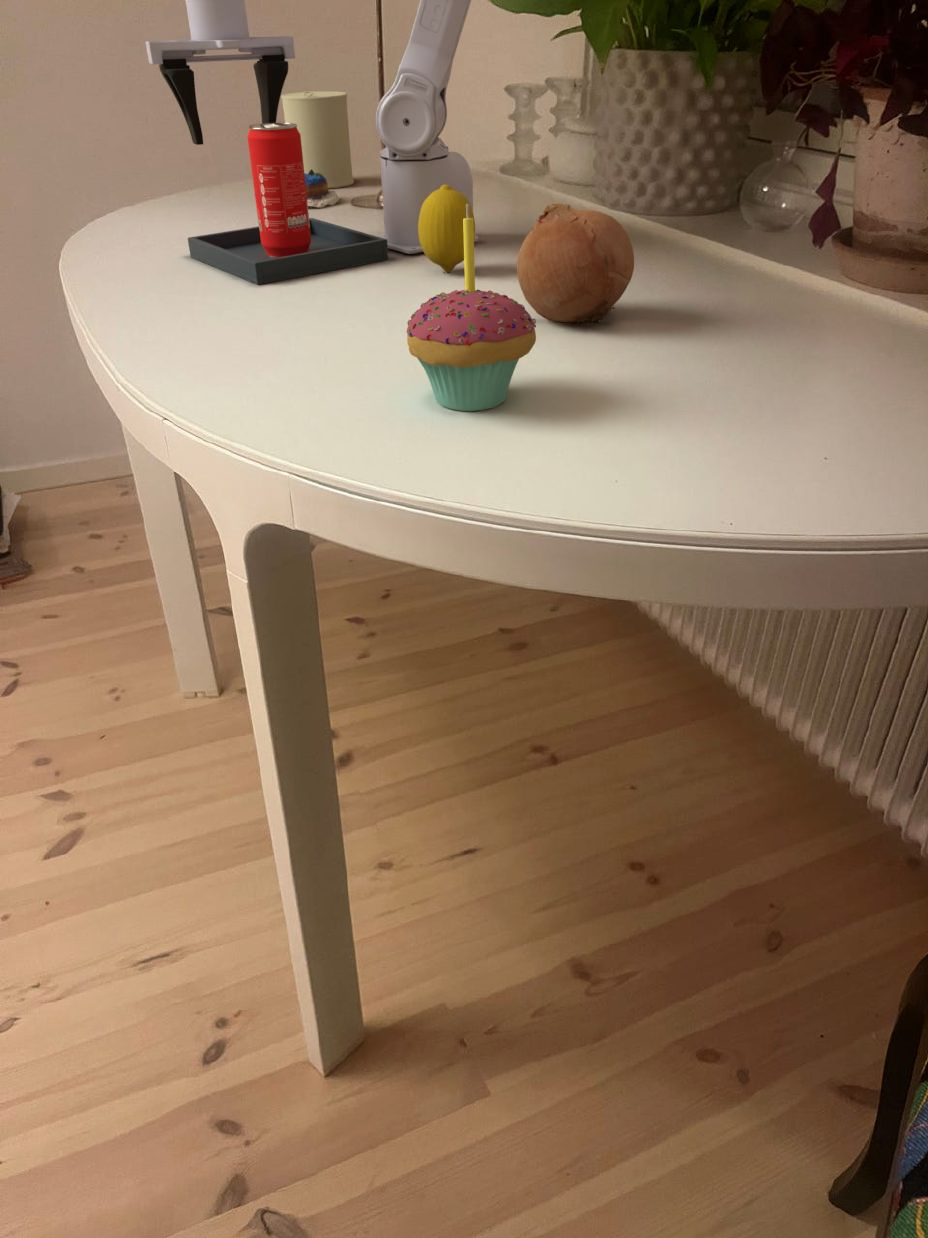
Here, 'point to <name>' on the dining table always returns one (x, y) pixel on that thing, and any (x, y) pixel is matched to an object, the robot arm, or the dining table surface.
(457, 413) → the dining table surface
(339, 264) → the tray
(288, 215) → the beverage can
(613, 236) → the onion
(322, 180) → the dessert
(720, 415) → the dining table surface
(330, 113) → the cream cylindrical container
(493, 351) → the cupcake
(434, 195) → the lemon
